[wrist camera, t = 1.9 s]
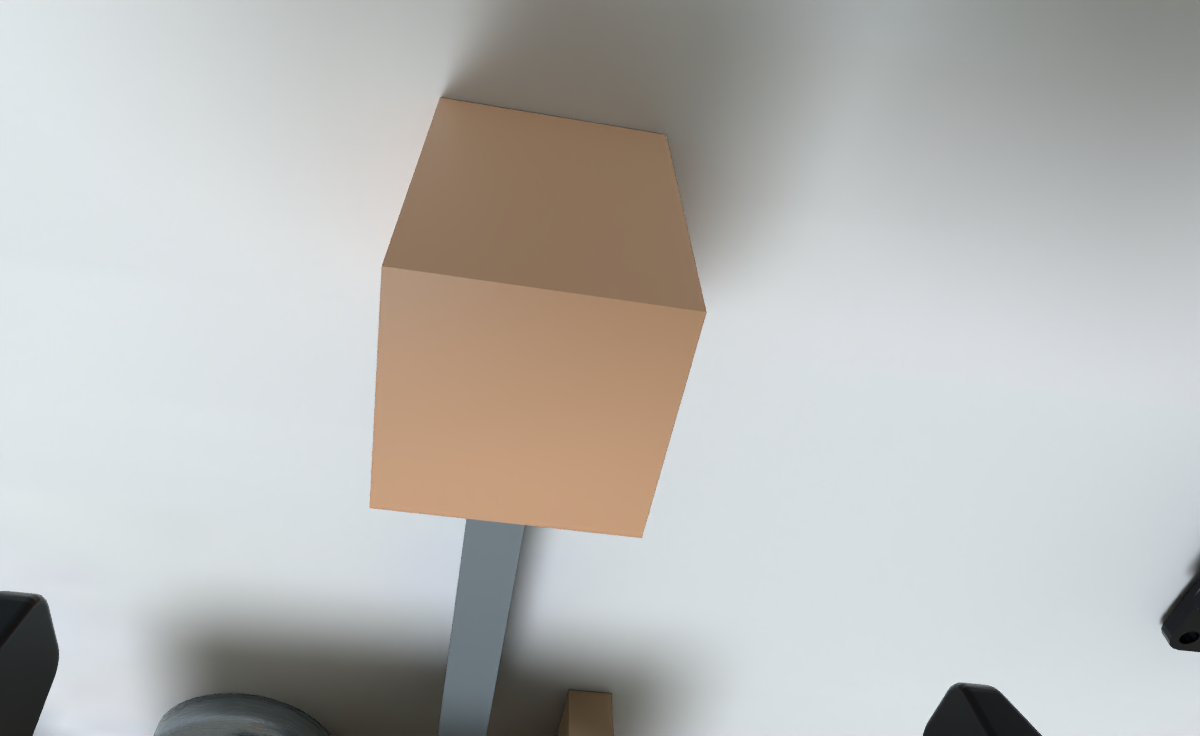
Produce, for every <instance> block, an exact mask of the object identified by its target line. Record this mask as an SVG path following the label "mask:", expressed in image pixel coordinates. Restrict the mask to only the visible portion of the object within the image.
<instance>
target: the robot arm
mask: <svg viewBox="0 0 1200 736" xmlns="http://www.w3.org/2000/svg"><path fill="white" fill-rule="evenodd" d="M1161 630H1162V634H1163V635H1164V637H1165V638H1166V640H1167V641H1168V643H1169V645H1170V646H1171V647H1172V648H1174V649H1177V650H1184V651H1194V652H1200V579H1199V580H1198V581H1197V582H1196V584H1195V585H1194V586H1193V587H1192V589H1191V590H1190V591H1189V592H1188V594H1187V595H1186V596H1185V598H1184V599H1183V600H1182V601H1181V603H1180V604H1179V605H1178V606H1177V608H1176V609H1175V610H1174V611H1173V613H1172V614H1171V615H1170V616H1169V618H1168V619H1167V620H1166V621H1165V623H1164V624H1163V626H1162V628H1161ZM58 661H59V648H58V643H57V639H56V635H55V631H54V627H53V623H52V618H51V614H50V610H49V606H48V603H47V601H46V600H45V599H44V598H43V597H42V596H41V595H38V594H32V593H21V592H11V591H0V736H33V733H34V730H35V728H36V725H37V722H38V720H39V717H40V714H41V712H42V709H43V706H44V704H45V701H46V698H47V696H48V693H49V691H50V688H51V685H52V683H53V680H54V677H55V674H56V671H57V667H58ZM923 736H1042V735H1041V734H1040V733H1039V732H1038V731H1037V730H1036V729H1035V728H1034V727H1033V726H1032V725H1031V724H1030V723H1029V721H1028V720H1027V719H1026V718H1025V717H1024V716H1023V715H1022V714H1021V713H1020V712H1019V711H1018V710H1017V709H1016V708H1015V707H1014V706H1013V705H1012V704H1011V702H1010V701H1009V700H1008V699H1007V698H1006V697H1005V696H1004V695H1003V694H1002V693H1001V692H1000V691H998V690H997V689H995V688H994V687H992V686H988V685H981V684H971V683H956V684H954V685H953V686H951V687H950V688H949V690H948V691H947V693H946V694H945V696H944V698H943V699H942V701H941V702H940V704H939V705H938V707H937V709H936V710H935V712H934V713H933V715H932V717H931V718H930V720H929V721H928V723H927V725H926V727H925V730H924V733H923Z"/></svg>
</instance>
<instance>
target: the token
mask: <svg viewBox="0 0 1200 736" xmlns="http://www.w3.org/2000/svg"><path fill="white" fill-rule="evenodd" d="M154 736H329V734H328V733H327V732H326V730H325V729H324V728H323V727H322V726H321V725H320V724H319V723H318V722H317V721H316V720H315V719H313V718H312V717H311V716H309V715H308V714H306V713H304V712H302V711H301V710H299V709H297V708H295V707H293V706H290V705H288V704H285V703H282V702H280V701H276V700H273V699H269V698H265V697H260V696H255V695H247V694H232V693H229V694H213V695H206V696H201V697H196V698H193V699H190V700H187V701H185V702H183V703H180V704H178V705H177V706H175V707H173V708H172V709H170V710H169V711H168V712H167V713H166V714H165V715H164V716H163V717H162V719H161V720H160V722H159V724H158V726H157V729H156V731H155V734H154Z"/></svg>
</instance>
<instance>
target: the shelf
mask: <svg viewBox="0 0 1200 736" xmlns="http://www.w3.org/2000/svg"><path fill="white" fill-rule="evenodd" d="M557 736H613V715H612V694H609V693H598V692H586V691H575V690H569V692H568V695H567V699H566V703H565V707H564V711H563V715H562V719H561V723H560V726H559V730H558V734H557Z"/></svg>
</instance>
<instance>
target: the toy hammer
mask: <svg viewBox="0 0 1200 736" xmlns="http://www.w3.org/2000/svg"><path fill="white" fill-rule="evenodd" d="M705 316H706V308H705V303H704V299H703V295H702V290H701V286H700V281H699V277H698V273H697V268H696V264H695V259H694V255H693V251H692V246H691V242H690V237H689V233H688V229H687V224H686V220H685V215H684V211H683V207H682V202H681V198H680V193H679V189H678V185H677V180H676V176H675V171H674V167H673V162H672V158H671V154H670V149H669V145H668V140H667V136H666V135H664V134H658V133H652V132H646V131H640V130H634V129H628V128H622V127H616V126H610V125H604V124H598V123H592V122H586V121H580V120H573V119H567V118H561V117H555V116H549V115H543V114H537V113H531V112H525V111H519V110H513V109H507V108H501V107H495V106H489V105H483V104H476V103H470V102H464V101H458V100H452V99H446V98H440V99H439V102H438V105H437V108H436V111H435V114H434V117H433V120H432V122H431V125H430V128H429V131H428V134H427V137H426V140H425V143H424V146H423V148H422V151H421V154H420V157H419V160H418V163H417V166H416V169H415V172H414V174H413V177H412V180H411V183H410V186H409V189H408V192H407V195H406V198H405V200H404V203H403V206H402V209H401V212H400V215H399V218H398V221H397V224H396V226H395V229H394V232H393V235H392V238H391V241H390V244H389V247H388V250H387V252H386V255H385V258H384V261H383V264H382V272H381V292H380V312H379V331H378V351H377V371H376V391H375V411H374V431H373V451H372V471H371V491H370V508H374V509H383V510H392V511H402V512H411V513H420V514H429V515H438V516H447V517H456V518H465V519H466V527H465V534H464V542H463V549H462V557H461V564H460V572H459V579H458V587H457V594H456V602H455V609H454V617H453V624H452V632H451V639H450V647H449V654H448V662H447V669H446V677H445V684H444V692H443V700H442V707H441V715H440V723H439V730H438V736H486V734H487V728H488V723H489V718H490V712H491V707H492V701H493V696H494V690H495V685H496V679H497V674H498V669H499V663H500V658H501V652H502V647H503V641H504V636H505V630H506V625H507V619H508V614H509V609H510V603H511V598H512V592H513V587H514V581H515V576H516V570H517V565H518V560H519V554H520V549H521V543H522V538H523V532H524V527H525V525H529V526H538V527H547V528H556V529H565V530H574V531H583V532H592V533H601V534H610V535H619V536H629V537H638V538H642V535H643V532H644V528H645V525H646V521H647V518H648V514H649V511H650V507H651V504H652V500H653V497H654V493H655V490H656V486H657V483H658V480H659V476H660V473H661V469H662V466H663V462H664V459H665V455H666V452H667V448H668V445H669V441H670V438H671V434H672V431H673V427H674V424H675V420H676V417H677V413H678V410H679V406H680V403H681V399H682V396H683V392H684V389H685V385H686V382H687V378H688V375H689V371H690V368H691V364H692V361H693V357H694V354H695V350H696V347H697V343H698V340H699V336H700V333H701V329H702V326H703V323H704V319H705Z"/></svg>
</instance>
